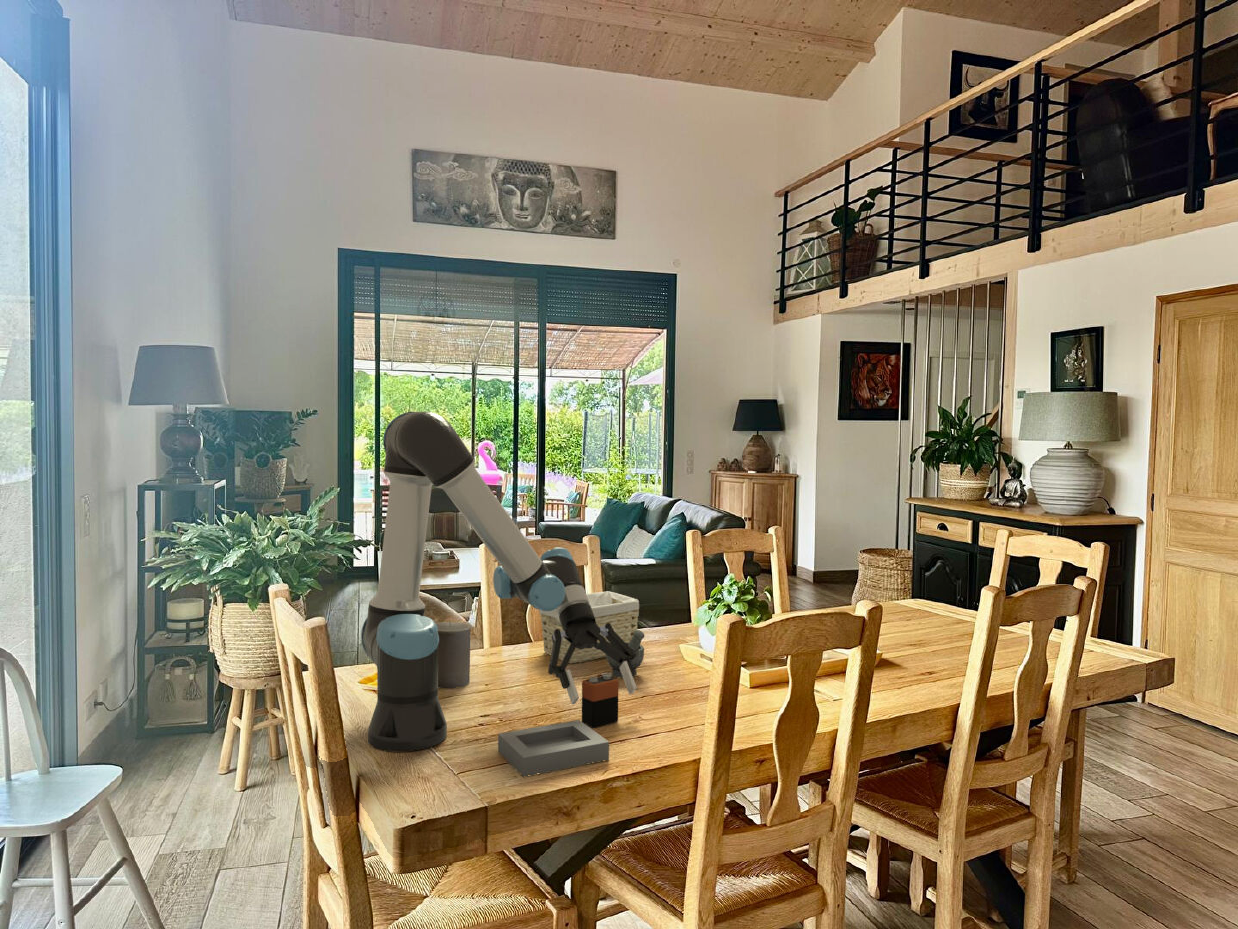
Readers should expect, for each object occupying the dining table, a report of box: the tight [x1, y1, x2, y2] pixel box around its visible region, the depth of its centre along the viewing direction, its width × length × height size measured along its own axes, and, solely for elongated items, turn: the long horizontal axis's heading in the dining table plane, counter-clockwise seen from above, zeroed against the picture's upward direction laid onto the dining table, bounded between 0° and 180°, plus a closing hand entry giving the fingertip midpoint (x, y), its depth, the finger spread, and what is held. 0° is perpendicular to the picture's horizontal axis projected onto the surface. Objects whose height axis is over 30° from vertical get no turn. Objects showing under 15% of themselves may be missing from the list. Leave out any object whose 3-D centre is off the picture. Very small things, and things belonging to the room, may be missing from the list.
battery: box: [581, 672, 619, 729], centre depth 178 cm, size 4×7×10 cm, turn 127°
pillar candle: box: [435, 620, 472, 690], centre depth 204 cm, size 10×10×15 cm
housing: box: [497, 719, 610, 777], centre depth 160 cm, size 17×13×4 cm
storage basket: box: [538, 590, 640, 664], centre depth 232 cm, size 24×16×15 cm
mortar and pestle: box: [605, 629, 645, 679], centre depth 212 cm, size 11×9×12 cm
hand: (604, 696), depth 178 cm, fingers open, 13 cm apart
